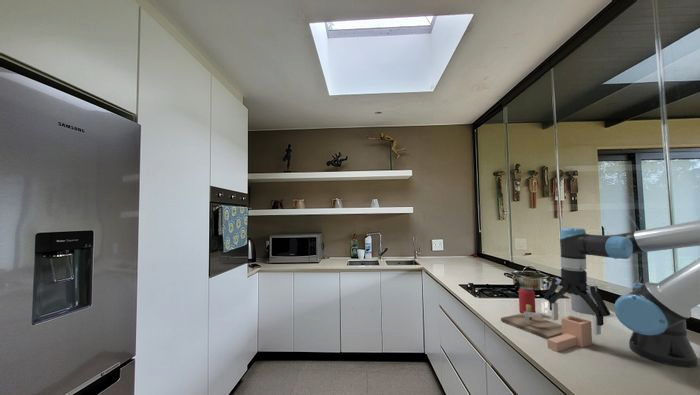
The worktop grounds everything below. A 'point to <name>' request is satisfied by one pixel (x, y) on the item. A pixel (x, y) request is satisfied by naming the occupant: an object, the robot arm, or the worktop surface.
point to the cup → (581, 304)
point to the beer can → (526, 298)
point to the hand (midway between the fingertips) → (575, 326)
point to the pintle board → (534, 325)
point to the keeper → (531, 314)
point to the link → (572, 334)
